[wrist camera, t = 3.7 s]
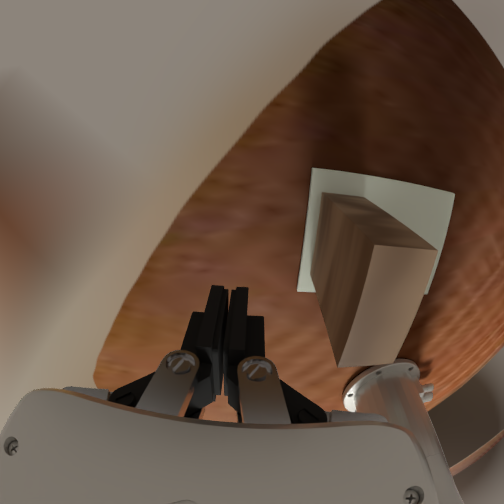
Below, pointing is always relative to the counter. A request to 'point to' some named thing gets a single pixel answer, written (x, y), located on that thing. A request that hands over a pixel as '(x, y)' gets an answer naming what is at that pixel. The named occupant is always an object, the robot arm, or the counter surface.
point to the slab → (367, 278)
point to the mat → (387, 198)
